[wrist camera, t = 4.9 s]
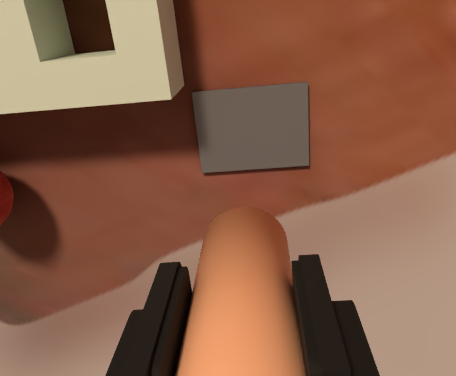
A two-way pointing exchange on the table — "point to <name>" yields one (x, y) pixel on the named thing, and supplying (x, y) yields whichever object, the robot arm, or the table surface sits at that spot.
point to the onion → (5, 198)
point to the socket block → (86, 57)
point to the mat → (252, 127)
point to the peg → (242, 301)
